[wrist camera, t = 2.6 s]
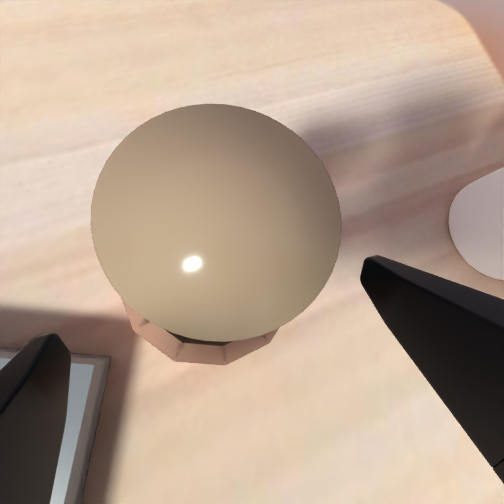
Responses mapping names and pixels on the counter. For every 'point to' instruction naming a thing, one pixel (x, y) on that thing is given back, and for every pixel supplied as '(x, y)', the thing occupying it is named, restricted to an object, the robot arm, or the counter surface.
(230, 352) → the terracotta cup
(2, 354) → the tray
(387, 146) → the counter surface
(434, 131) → the counter surface
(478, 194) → the mug
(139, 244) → the spice jar
